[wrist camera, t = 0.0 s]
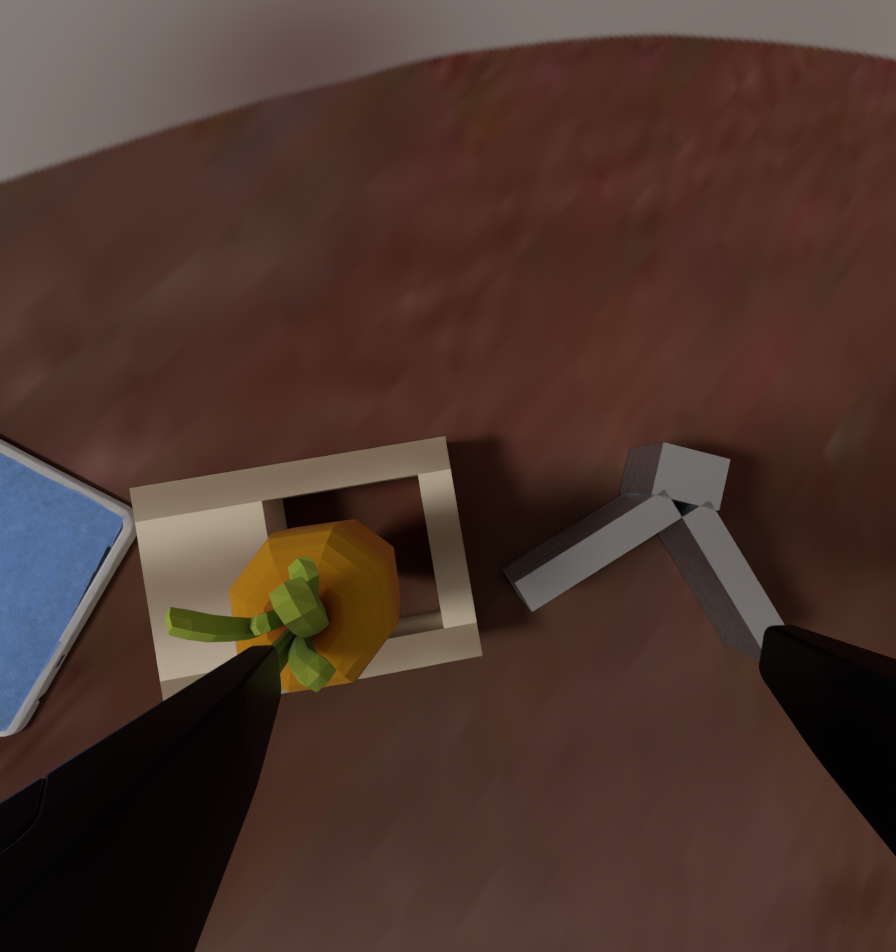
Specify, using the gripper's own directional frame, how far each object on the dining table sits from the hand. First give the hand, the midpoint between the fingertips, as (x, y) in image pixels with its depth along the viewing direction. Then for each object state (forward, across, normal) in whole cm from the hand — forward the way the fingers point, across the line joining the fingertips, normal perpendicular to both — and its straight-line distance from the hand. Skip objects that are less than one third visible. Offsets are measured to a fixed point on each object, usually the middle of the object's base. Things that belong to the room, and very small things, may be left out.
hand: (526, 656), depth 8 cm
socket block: (+15, +7, +4) cm, 17 cm away
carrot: (+15, +5, +4) cm, 16 cm away
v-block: (+15, -9, +4) cm, 18 cm away
